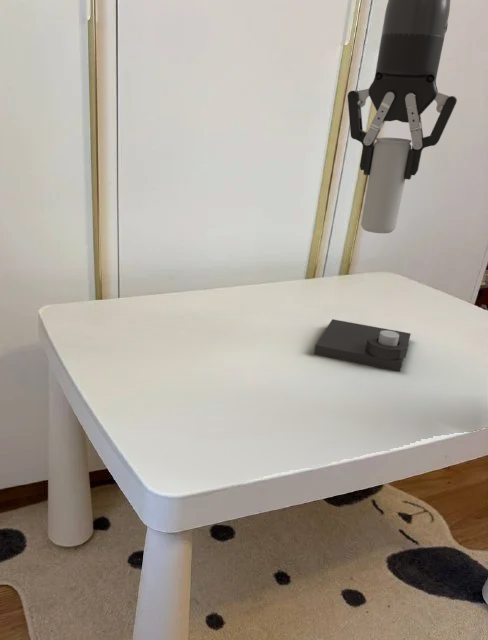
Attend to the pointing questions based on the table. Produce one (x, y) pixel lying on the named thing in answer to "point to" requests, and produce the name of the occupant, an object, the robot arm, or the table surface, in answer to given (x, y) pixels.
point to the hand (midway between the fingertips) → (387, 176)
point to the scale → (361, 345)
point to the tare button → (388, 338)
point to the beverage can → (385, 184)
